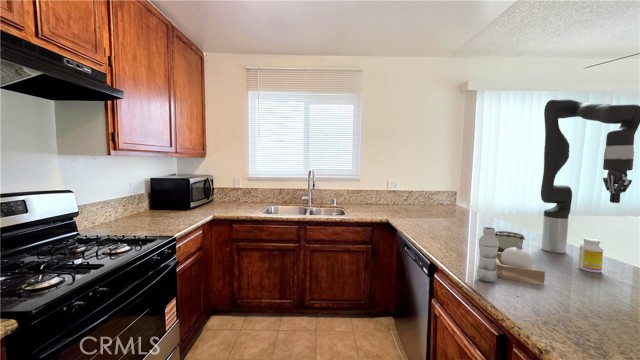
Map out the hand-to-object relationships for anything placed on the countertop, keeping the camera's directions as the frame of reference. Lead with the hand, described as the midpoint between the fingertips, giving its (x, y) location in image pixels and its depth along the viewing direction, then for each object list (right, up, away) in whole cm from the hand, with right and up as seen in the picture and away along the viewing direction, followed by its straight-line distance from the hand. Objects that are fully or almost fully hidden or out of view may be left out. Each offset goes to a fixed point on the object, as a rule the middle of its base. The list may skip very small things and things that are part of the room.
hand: (614, 202), depth 101 cm
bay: (-35, -29, +4) cm, 46 cm away
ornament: (-35, -29, +4) cm, 46 cm away
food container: (-21, -27, +28) cm, 44 cm away
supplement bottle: (-2, -29, +7) cm, 30 cm away
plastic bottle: (-51, -29, -3) cm, 59 cm away
